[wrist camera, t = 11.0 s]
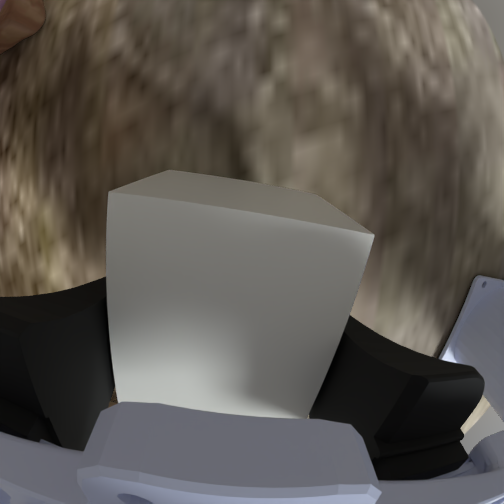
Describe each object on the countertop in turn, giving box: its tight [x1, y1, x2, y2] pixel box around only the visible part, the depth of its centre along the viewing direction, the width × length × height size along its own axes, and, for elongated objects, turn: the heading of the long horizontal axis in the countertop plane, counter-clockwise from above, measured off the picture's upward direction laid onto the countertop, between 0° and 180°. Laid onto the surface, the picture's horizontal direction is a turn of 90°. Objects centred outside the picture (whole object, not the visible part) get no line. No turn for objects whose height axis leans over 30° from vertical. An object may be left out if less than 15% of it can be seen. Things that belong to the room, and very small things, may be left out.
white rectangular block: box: [106, 170, 375, 419], centre depth 10 cm, size 6×9×6 cm, turn 170°
